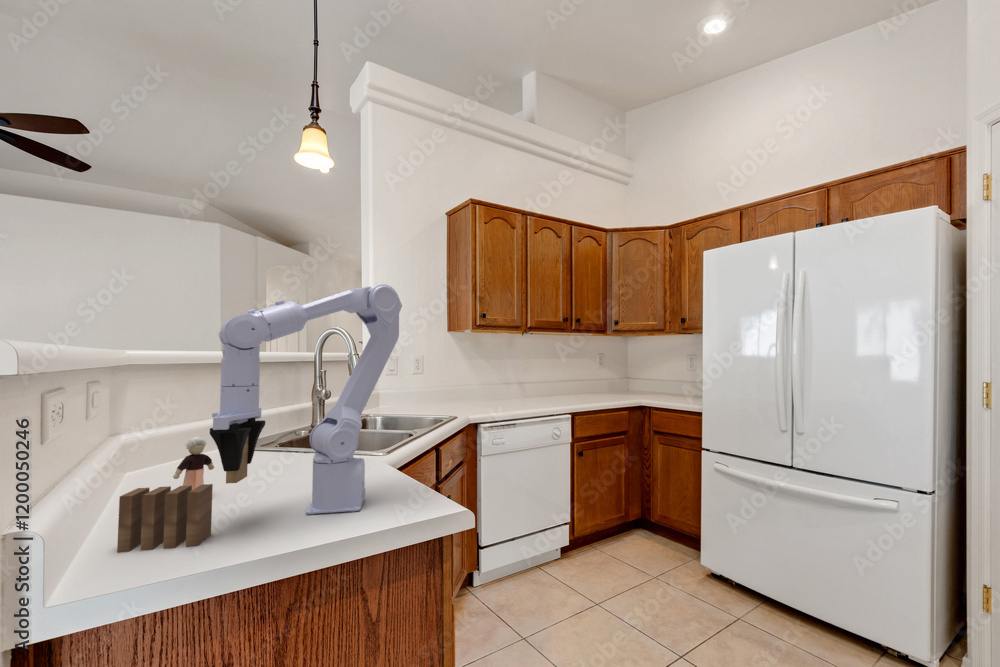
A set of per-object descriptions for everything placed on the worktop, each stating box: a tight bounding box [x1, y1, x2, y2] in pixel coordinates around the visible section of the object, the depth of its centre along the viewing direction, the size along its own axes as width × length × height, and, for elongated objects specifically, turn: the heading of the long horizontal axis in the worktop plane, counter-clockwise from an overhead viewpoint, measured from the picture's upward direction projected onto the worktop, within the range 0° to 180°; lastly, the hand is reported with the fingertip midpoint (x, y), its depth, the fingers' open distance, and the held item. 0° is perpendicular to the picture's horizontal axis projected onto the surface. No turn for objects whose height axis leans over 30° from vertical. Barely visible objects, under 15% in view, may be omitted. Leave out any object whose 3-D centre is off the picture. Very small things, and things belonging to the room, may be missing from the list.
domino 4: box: [185, 483, 214, 548], centre depth 69 cm, size 2×4×8 cm, turn 10°
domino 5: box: [225, 436, 249, 484], centre depth 75 cm, size 2×4×8 cm, turn 10°
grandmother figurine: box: [172, 436, 215, 490], centre depth 89 cm, size 8×4×13 cm, turn 168°
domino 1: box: [116, 487, 150, 553], centre depth 67 cm, size 2×4×8 cm, turn 10°
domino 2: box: [140, 485, 172, 552], centre depth 68 cm, size 2×4×8 cm, turn 11°
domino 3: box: [162, 485, 192, 550], centre depth 68 cm, size 2×4×8 cm, turn 11°
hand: (238, 467), depth 75 cm, fingers closed on domino 5, 4 cm apart
